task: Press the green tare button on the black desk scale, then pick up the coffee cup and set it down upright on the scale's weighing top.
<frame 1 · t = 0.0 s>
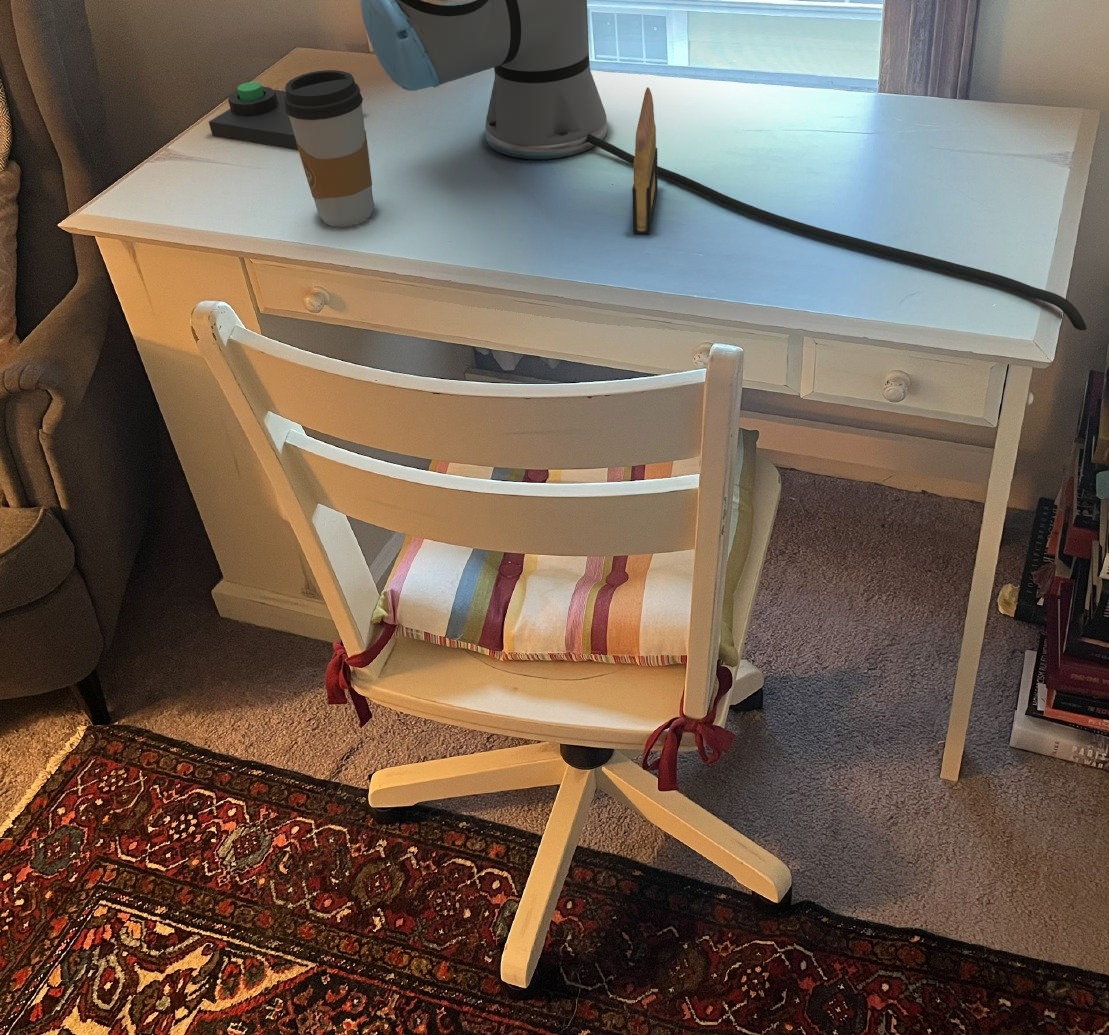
scale: (287, 125, 145), on the table
tare button: (250, 92, 145), point 4 cm above the table, slide at 0.1 cm
coffee cup: (347, 216, 125), on the table
ammunition clip: (645, 213, 121), on the table
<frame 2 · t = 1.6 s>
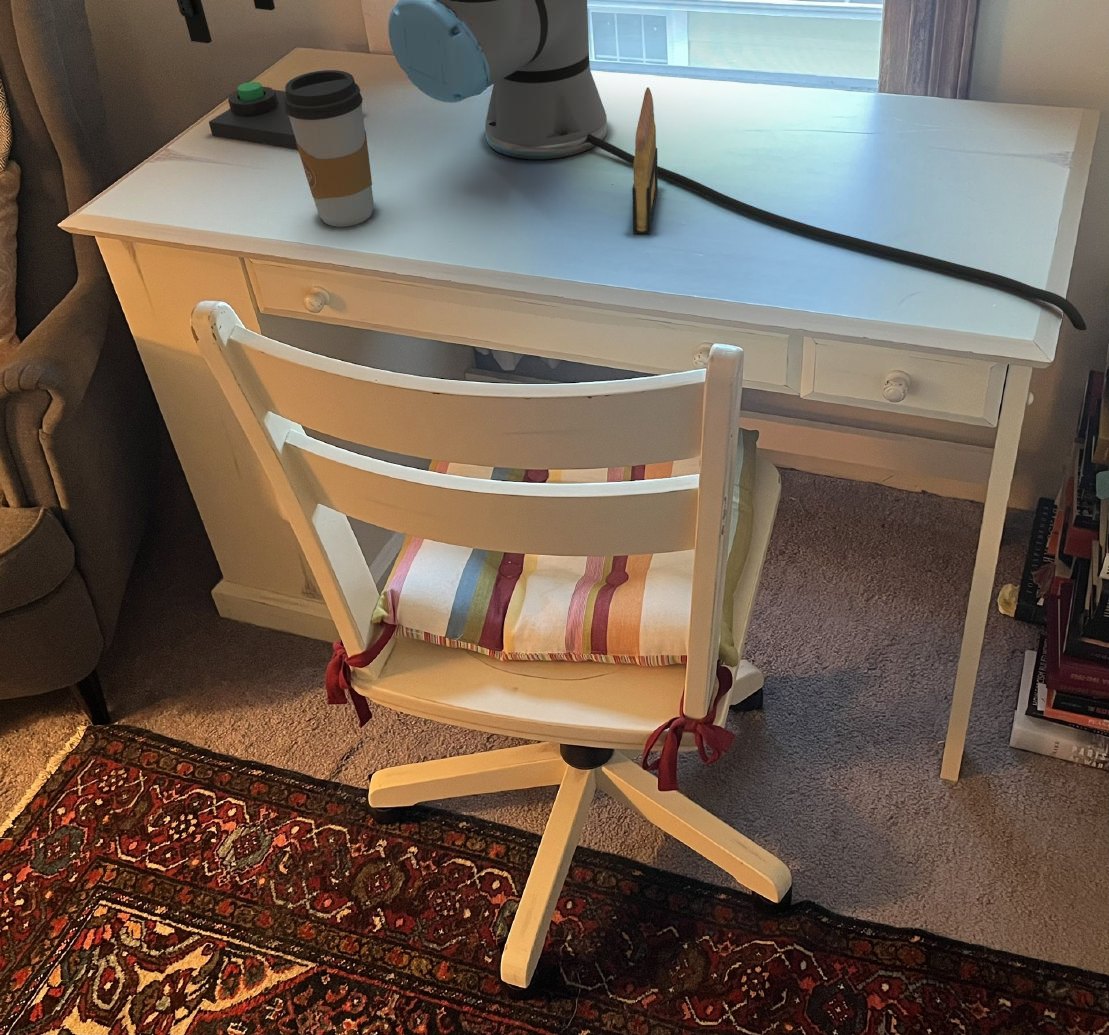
hand: (234, 24, 139), 12 cm above the table, tool pointing down, fingers open, 12 cm apart
nothing on the table moved.
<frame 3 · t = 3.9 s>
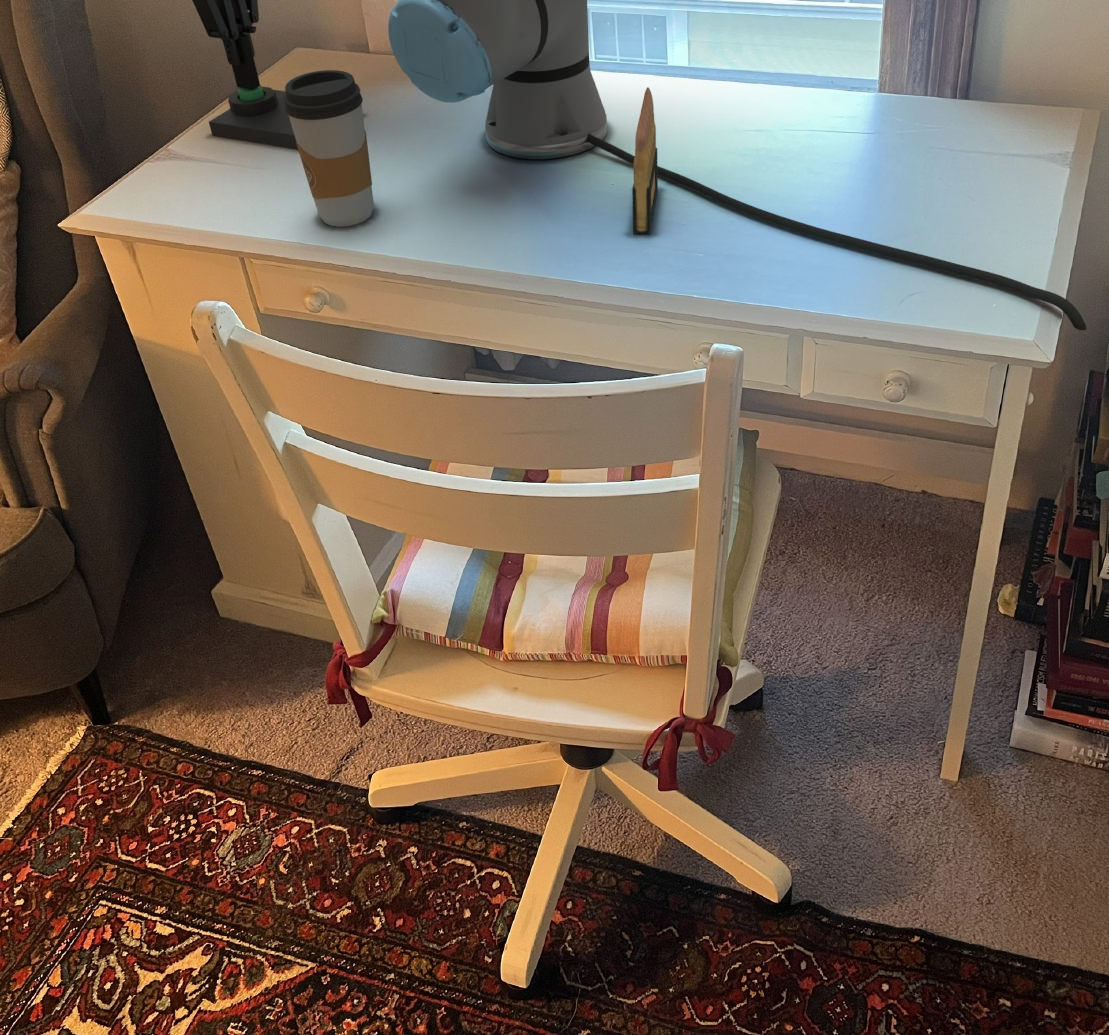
hand: (248, 86, 144), 5 cm above the table, tool pointing down, fingers closed
tare button: (251, 94, 145), point 4 cm above the table, slide at -0.2 cm, touching gripper
everything else where it was.
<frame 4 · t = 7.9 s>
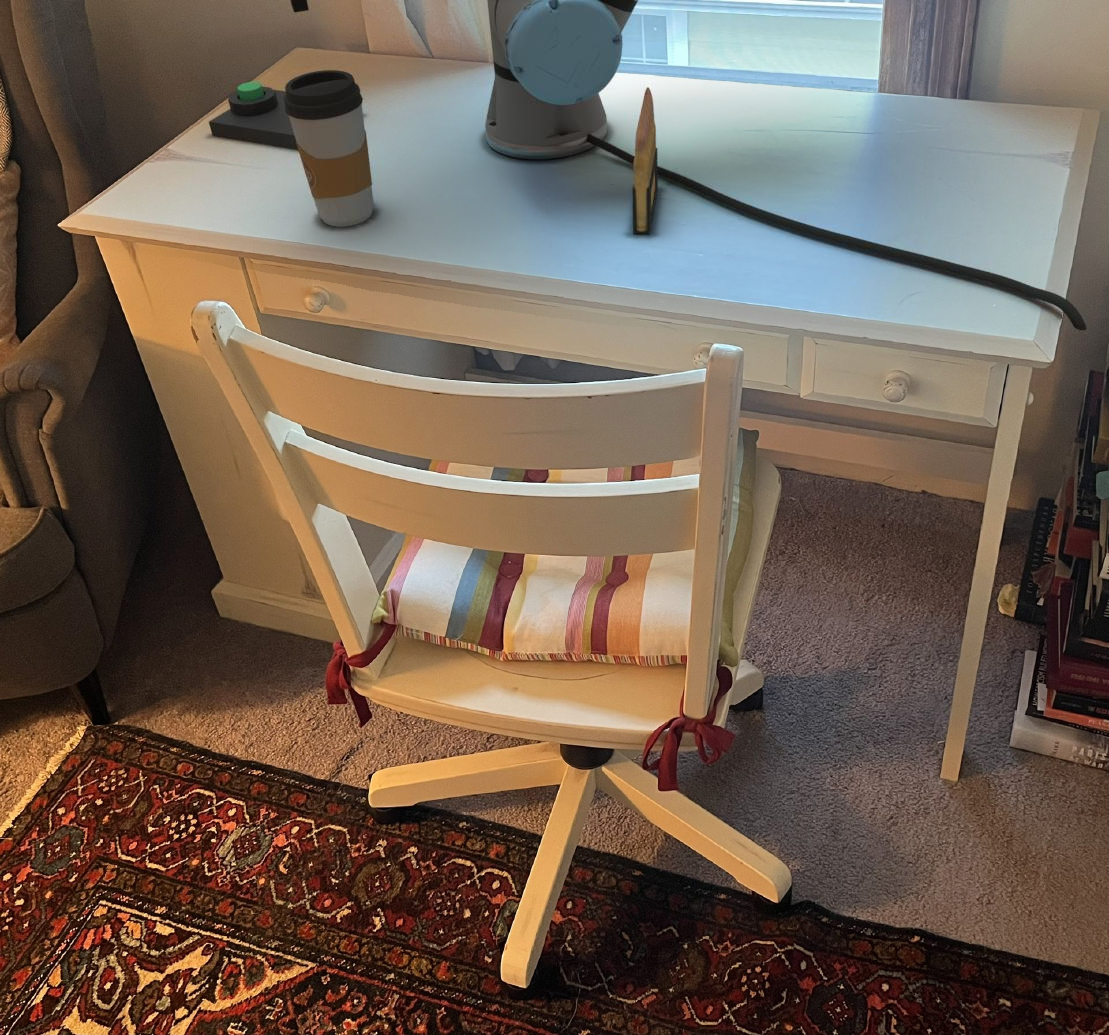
hand: (299, 7, 111), 22 cm above the table, tool pointing down, fingers closed
tare button: (250, 92, 145), point 4 cm above the table, slide at 0.1 cm
everything else where it was.
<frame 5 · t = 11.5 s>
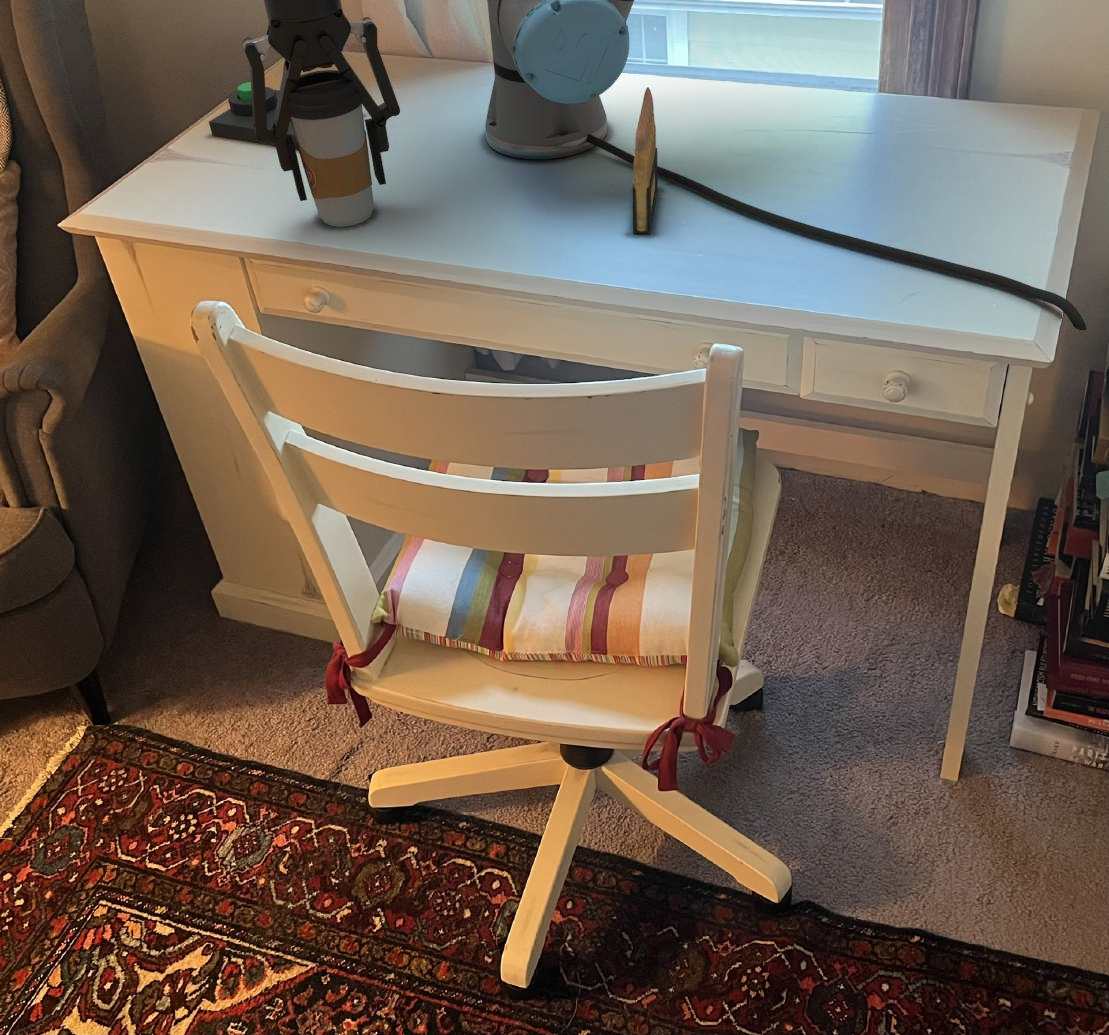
hand: (341, 187, 122), 3 cm above the table, tool pointing down, fingers closed on coffee cup, 8 cm apart
coffee cup: (347, 216, 125), on the table, touching gripper
everything else where it was.
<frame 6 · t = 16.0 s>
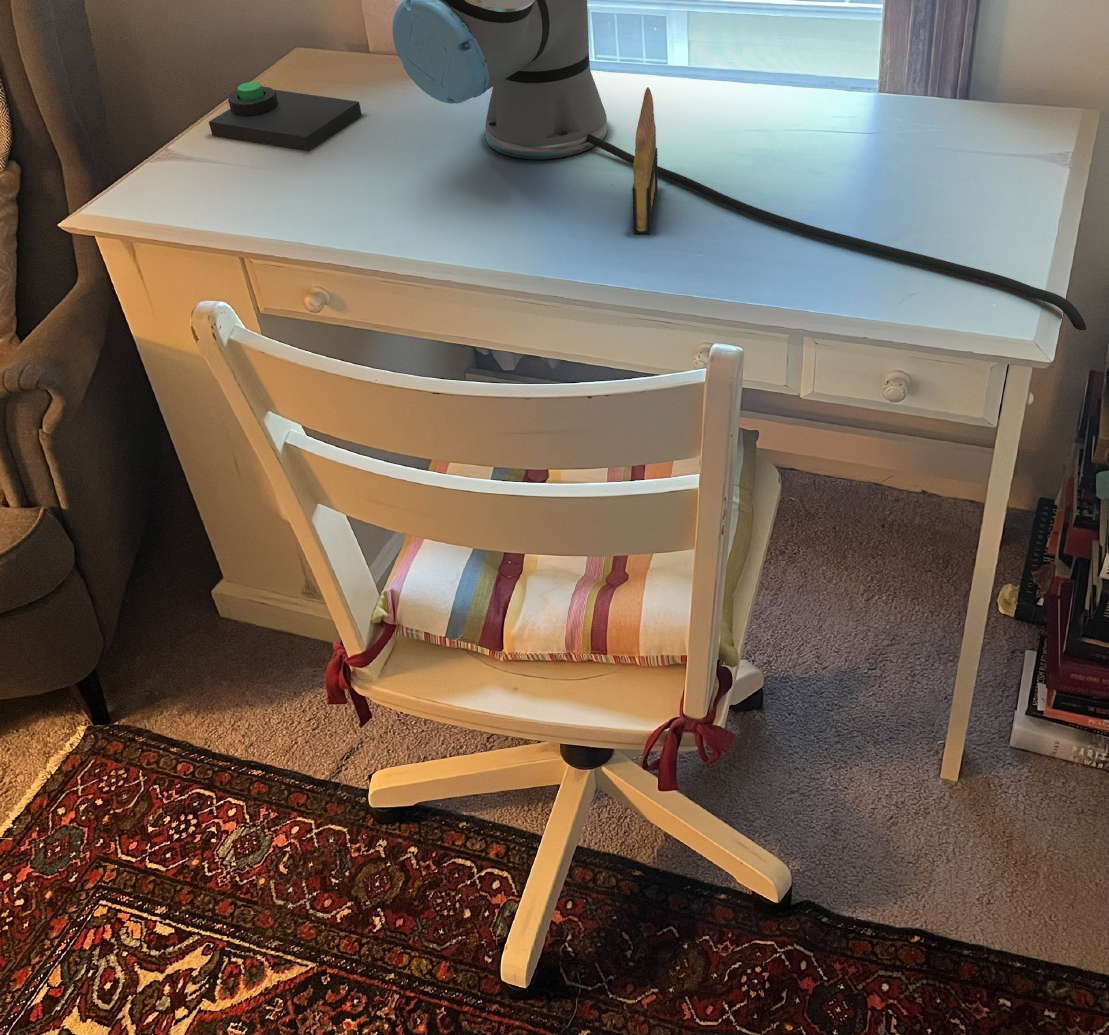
when the fingers open (5 cm above the table, at t = 20.3 s): coffee cup stays where it is, resting on scale.
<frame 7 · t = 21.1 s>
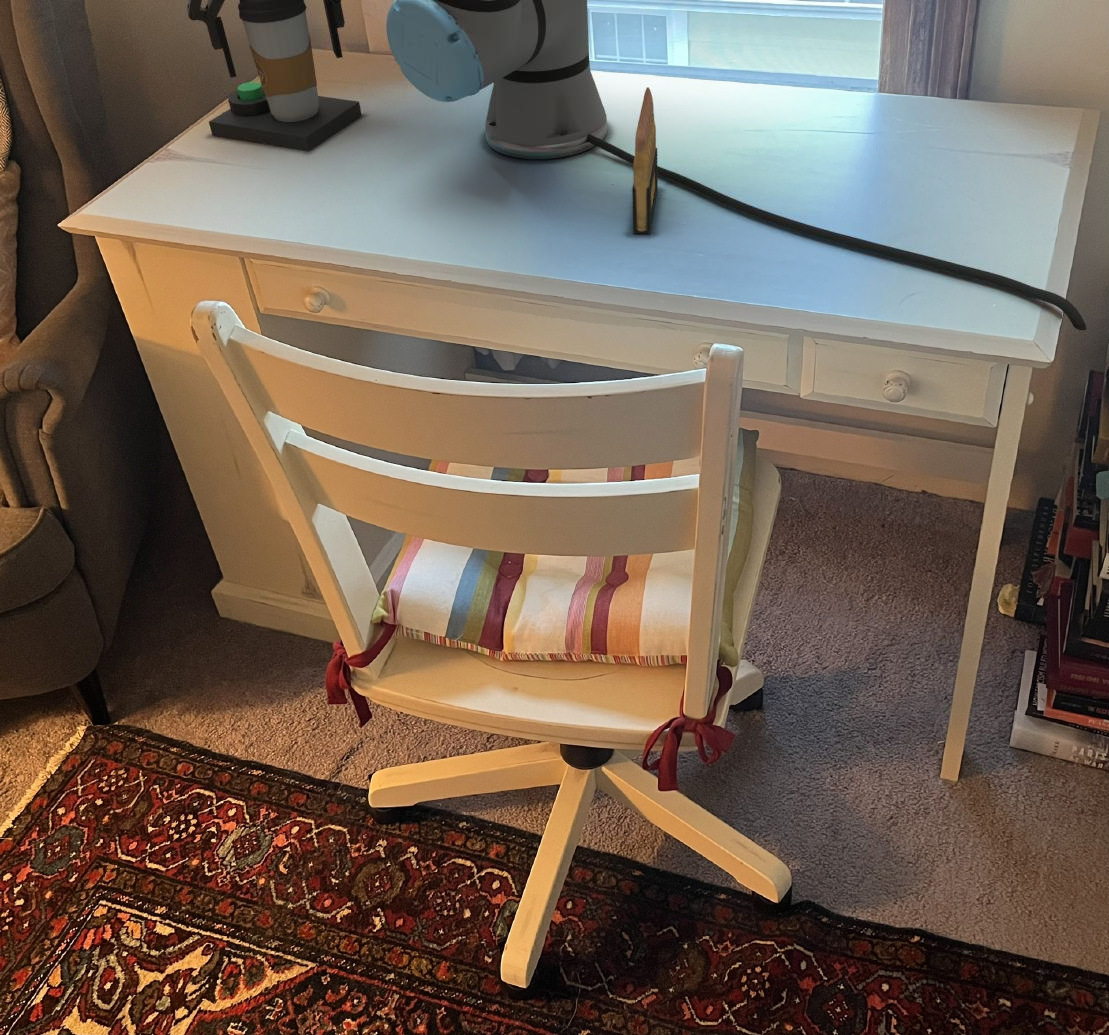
hand: (285, 64, 139), 8 cm above the table, tool pointing down, fingers open, 13 cm apart
coffee cup: (296, 114, 144), point 2 cm above the table, touching scale
everything else where it was.
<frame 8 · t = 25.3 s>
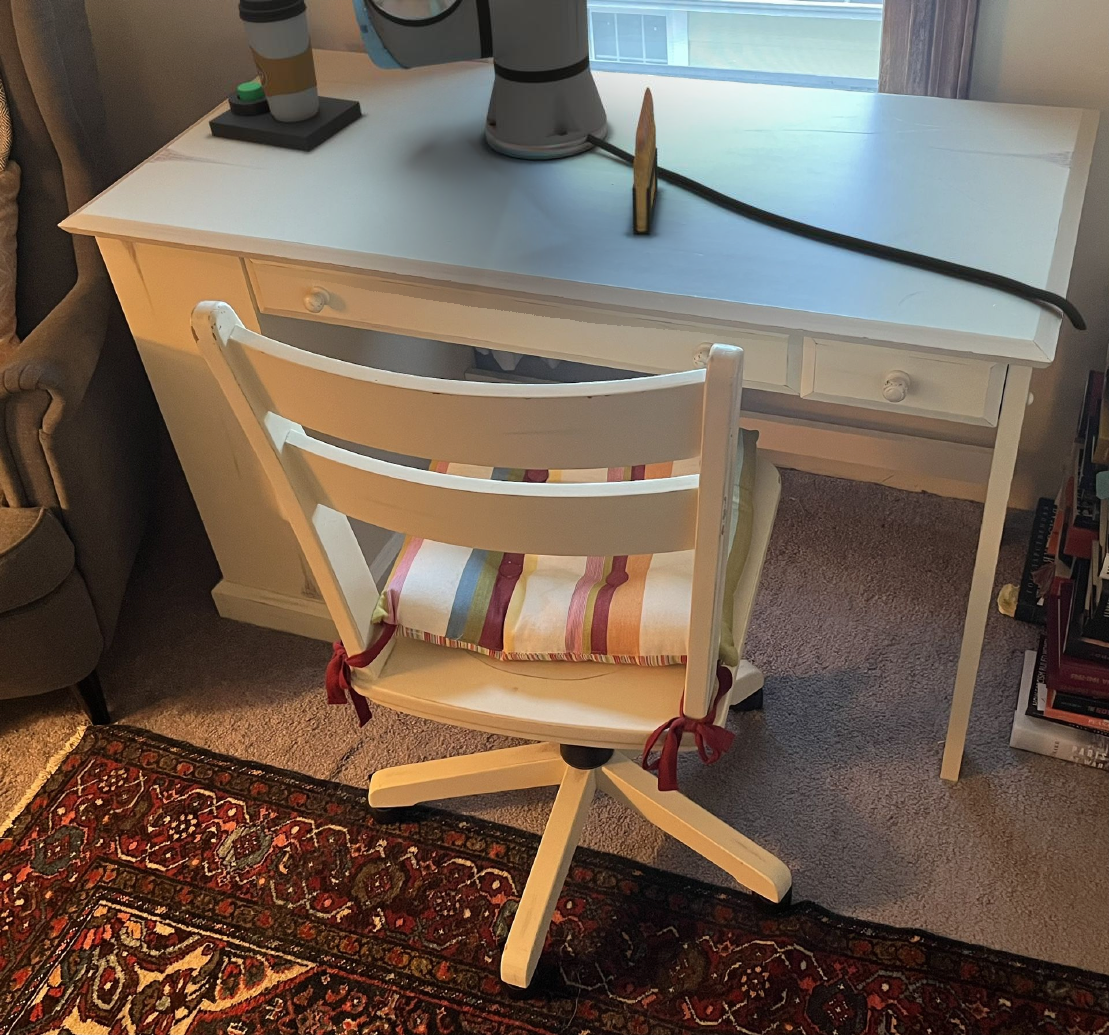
nothing on the table moved.
at the end: tare button pushed in 0.8 cm at the most during the clip, back to where it started at the end; coffee cup inside the target area on the scale (0.5 cm from its centre), point 1.7 cm above the scale's base; coffee cup tilted 0° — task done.
